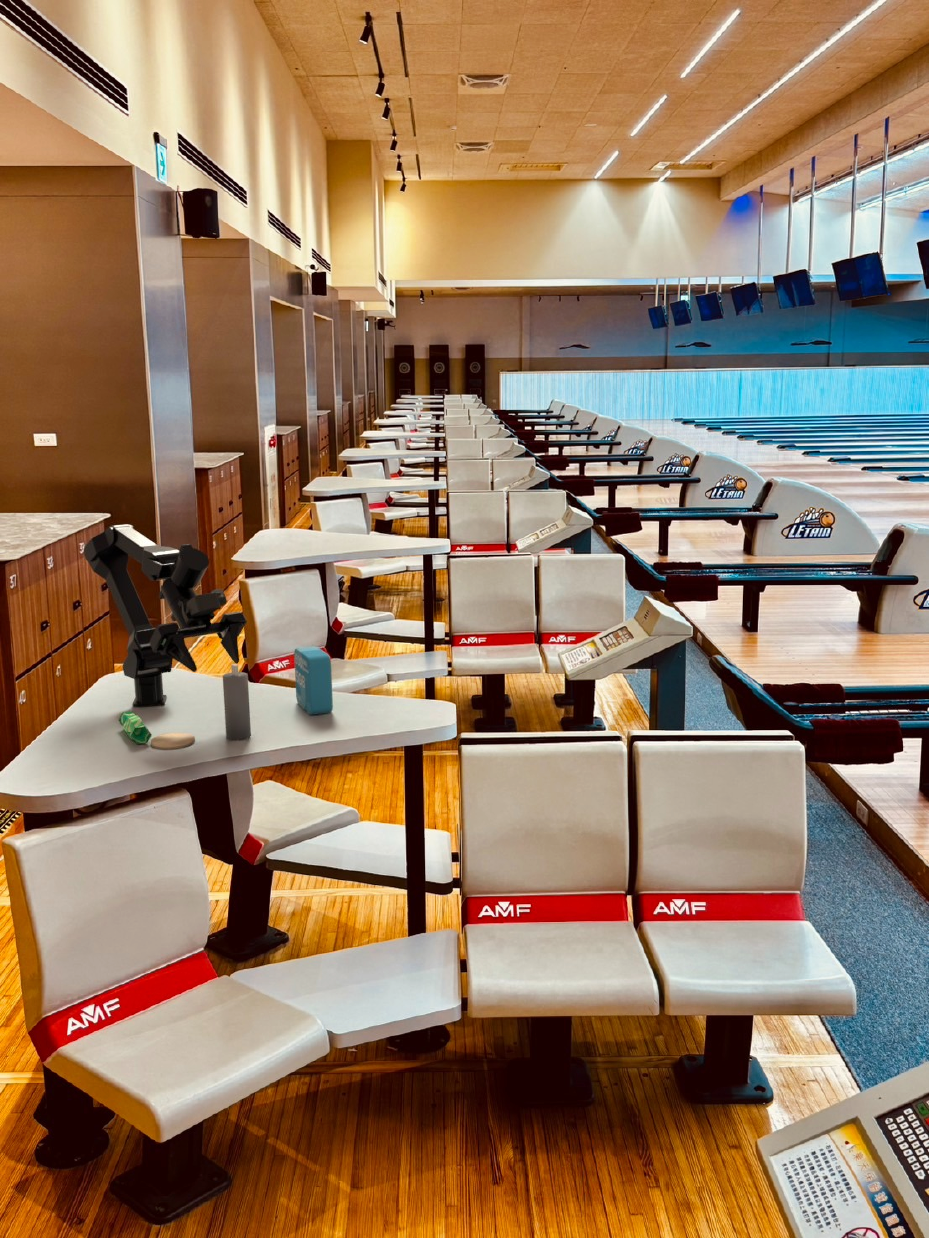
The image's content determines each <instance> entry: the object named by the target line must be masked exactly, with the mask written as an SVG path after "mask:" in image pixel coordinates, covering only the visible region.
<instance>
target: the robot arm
mask: <svg viewBox="0 0 929 1238" xmlns="http://www.w3.org/2000/svg"><path fill="white" fill-rule="evenodd" d="M83 549H84V550H83V553H84V557H85V560H86V561H87V562H88V564H89V567H90V568H91V569H92V571H93V573H94V574H97V576H99V577H101V578H103V579H104V581H105V583H106V584H107V586H108V589H109V591H110V593H111V596H112V599H113V601H114V603H115V605H116V607H117V610H118V612H119V615H120V617H121V620H122V622H123V624H124V626H125V628H126V630H127V633H128V635H129V639H128V644H127V647H126V650H127V656H126V658H125V660H124V662H123V663H122V670H123V674H124V676H125V677H127V678H131V679H132V680H133V682H134V684H133V685H134V694H135V696H134V700H133V701H132V704H131V705H132V707H144V706H145V707H147V706H163V705H165V704H166V700H167V698H168V697H167V694H164V685H163V674H165V673H171V672H172V667H173V666H172V665H173V660H175V661H177V662H178V663H180V664H181V665H182V666H184V667H185V668H186V669H188V670H189V671H191V672H193V673H195V672H197V670H198V667H197V665H196V661H195V660H194V658H193V656H192V654H191V653H190V651H189V649H188V647H187V645H186V643H185V639H188V638H197V637H201V636H203V637H204V636H209V635H214V634H217V637H218V638H219V639H220V640H221V641H220V644H221V645H222V647H223V648H224V650H225V651H226V653H227V655H228V656H229V658H230V660H232V662H233V663H234V664H236V665H238V664H239V662H240V653H239V645H238V639H239V638H238V637H239V636H240V634H241V633H242V631H243V629H244V628H245V626H246V624H247V622H248V620H247V617H246V616H245V615H244V613H243V612H241V611H237V612H229V613H224V614H223V615H222V617H221V619H220V621H218V622H213V623H212V620H214V618H215V617H216V614H215V612H216V611H217V610H221V609H222V608H223V607H224V606H225V605H226V604H227V602H228V600H227V597H226V594H225V592H224V591H223V589H222V588H219V589H214V590H212V591H211V592H209V593H203V594H202V593H201V594H197V593H196V590H195V589H194V588H196V587H198V585H199V584H200V583H201V580H202V579H203V576H204V575H205V573H206V571H207V569H208V567H209V564H210V559H209V557H208V555H207V554H205V553H204V552H203V551H201V550H200V549H197V548H194V547H193V546H192V544H191V543H188V544H181V546H180V547H179V550H178V549H177V548H173V547H172V546H162V545H158V544H156V543H155V542H153V541H152V540H150V539H149V538H147V537H146V536H145V535H143V534H142V533H140V532H138V531H137V530H135V528H134V525H132V524H128V523H127V524H126V523H125V524H124V523H123V524H115V525H113V524H112V525H110V526H108V527H107V528H106V529H105V530H104V531H103V532H101V533H99V534H97V535H95V536H93V537H92V538H90V539H89V541H88V542H87V543H86V544H85V546H84V548H83ZM130 557H131V558H133V559H134V560H135V561H137V562H139V563H140V564H141V572H142V573H143V574H144V575H145V576H146V577H147V579H149V581H152V582H154V581H161V580H163V582H162V585H161V586H160V591H159V593H158V598H159V600H165V601H166V603H167V604H168V607H169V609H170V611H171V613H172V614H171V616H170V619H171V621H172V622H169V623H163V624H158V625H156V627H155V626H153V624H152V623H151V622H150V620H149V618H148V615H147V612H146V609H145V607H144V605H143V603H142V601H141V599H140V597H139V594H138V592H137V590H136V587H135V585H134V582H133V579H131V576H130V573H129V572H128V565H129V560H130Z"/></svg>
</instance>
